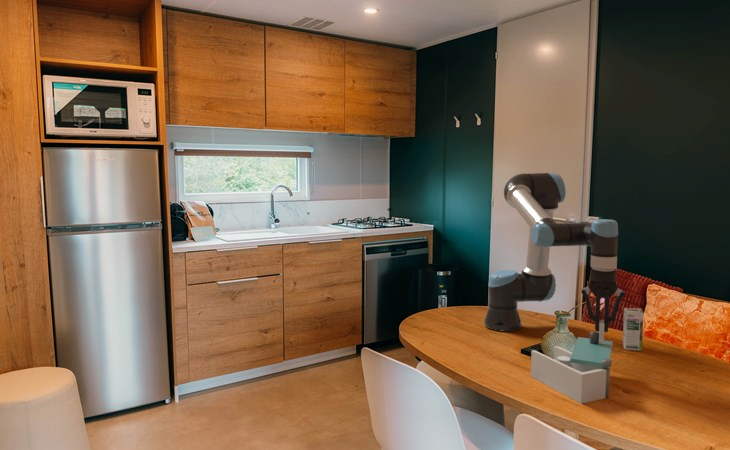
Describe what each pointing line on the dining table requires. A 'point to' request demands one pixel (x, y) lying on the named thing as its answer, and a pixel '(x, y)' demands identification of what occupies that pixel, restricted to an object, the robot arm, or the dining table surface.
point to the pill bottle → (564, 360)
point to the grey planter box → (571, 376)
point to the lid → (592, 351)
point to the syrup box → (633, 329)
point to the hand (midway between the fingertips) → (601, 341)
